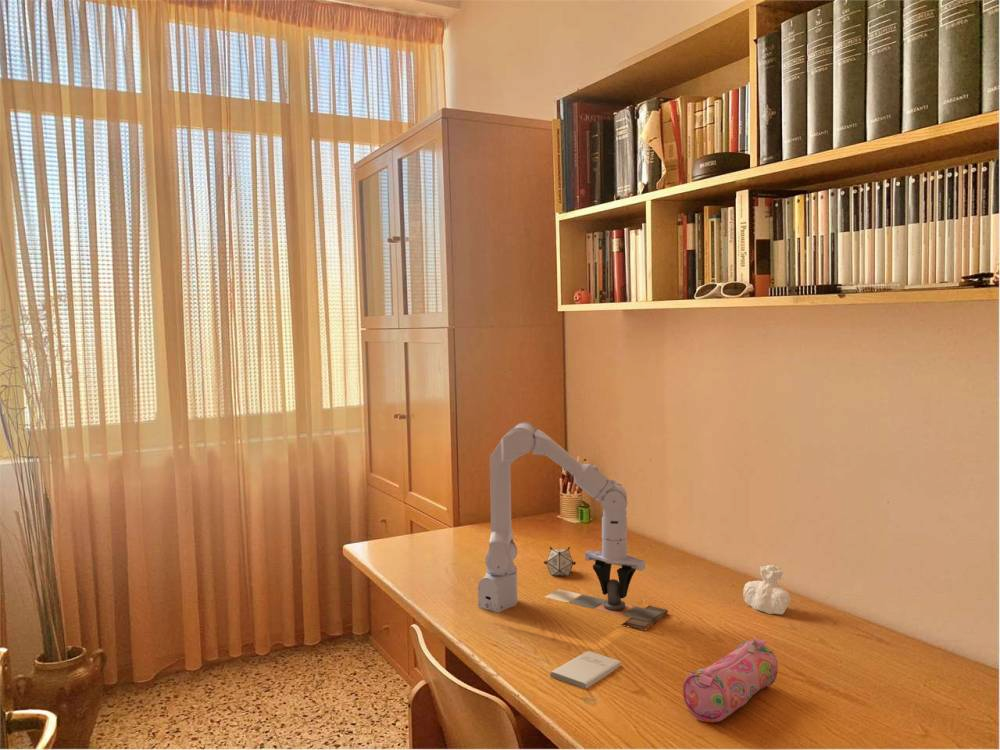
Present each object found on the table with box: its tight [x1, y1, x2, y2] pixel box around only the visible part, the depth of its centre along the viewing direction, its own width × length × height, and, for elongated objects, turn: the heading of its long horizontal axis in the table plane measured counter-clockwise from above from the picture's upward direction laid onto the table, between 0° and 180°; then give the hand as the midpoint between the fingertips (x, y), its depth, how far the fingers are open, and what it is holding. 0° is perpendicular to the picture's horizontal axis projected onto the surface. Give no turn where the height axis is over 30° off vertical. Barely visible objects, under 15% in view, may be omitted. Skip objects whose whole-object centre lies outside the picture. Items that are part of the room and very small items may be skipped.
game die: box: [543, 546, 577, 577], centre depth 209 cm, size 9×8×10 cm
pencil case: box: [682, 638, 779, 723], centre depth 141 cm, size 21×9×9 cm, turn 136°
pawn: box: [603, 578, 626, 610], centre depth 184 cm, size 5×5×6 cm
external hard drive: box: [549, 650, 622, 690], centre depth 154 cm, size 2×8×12 cm
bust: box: [743, 564, 792, 615], centre depth 185 cm, size 12×8×11 cm
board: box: [544, 588, 669, 631], centre depth 186 cm, size 12×28×1 cm, turn 54°
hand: (614, 595), depth 184 cm, fingers open, 4 cm apart
